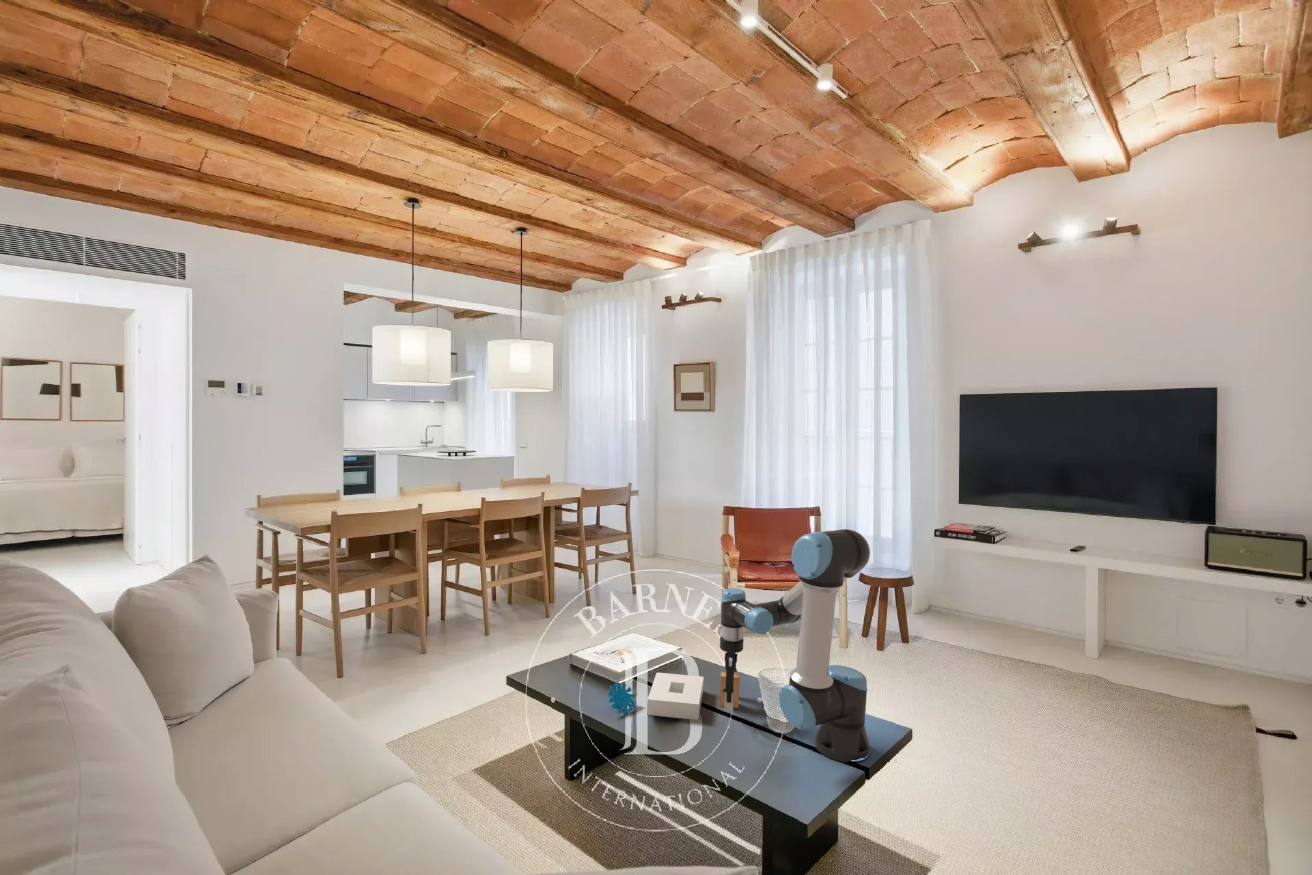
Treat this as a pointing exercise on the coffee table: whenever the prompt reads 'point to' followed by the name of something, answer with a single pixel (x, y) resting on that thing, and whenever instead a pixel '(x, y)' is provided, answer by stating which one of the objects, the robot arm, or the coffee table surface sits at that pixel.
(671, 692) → the block
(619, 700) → the blue virus model
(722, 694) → the peg
